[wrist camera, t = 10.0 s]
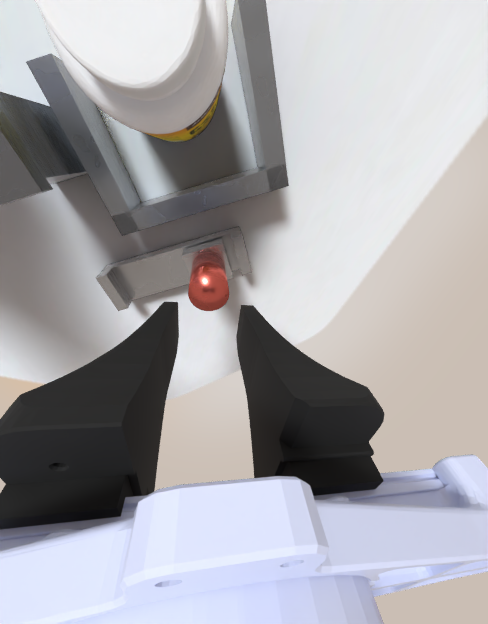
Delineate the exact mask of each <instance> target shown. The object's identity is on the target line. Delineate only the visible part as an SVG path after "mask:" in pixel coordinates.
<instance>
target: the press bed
mask: <svg viewBox="0 0 488 624" xmlns="http://www.w3.org/2000/svg"><path fill="white" fill-rule="evenodd" d="M231 26H232V32H233V37H234V43H235V48H236V53H237V59H238V64H239V70H240V75H241V80H242V86H243V91H244V97H245V102H246V108H247V113H248V118H249V124H250V129H251V135H252V140H253V145H254V151H255V156H256V162H257V168H254V169H250V170H247V171H244V172H240V173H237V174H234V175H231V176H227V177H224V178H221V179H217V180H214V181H211V182H208V183H204V184H201V185H198V186H194V187H191V188H188V189H184V190H181V191H178V192H175V193H171V194H168V195H165V196H161V197H158V198H155V199H151V200H148V201H145V202H142V203H141V201H140V198H139V196H138V194H137V192H136V190H135V188H134V186H133V183H132V181H131V179H130V177H129V175H128V173H127V170H126V168H125V166H124V164H123V162H122V160H121V158H120V155H119V153H118V151H117V149H116V147H115V145H114V143H113V140H112V138H111V136H110V134H109V132H108V130H107V128H106V125H105V123H104V121H103V119H102V117H101V115H100V112H99V110H98V108H97V106H96V104H95V103H94V102H93V101H92V100H91V99H90V98H89V97H88V96H87V95H86V94H85V93H84V91H83V90H82V89H81V88H80V87H79V85H78V84H77V83H76V82H75V80H74V79H73V77H72V76H71V75H70V73H69V72H68V70H67V68H66V67H65V65H64V63H63V62H62V60H60V59H59V58H57V57H56V56H54V55H53V54H48V55H45V56H42V57H39V58H36V59H33V60H30V61H27V62H26V63H27V64H28V66H29V68H30V70H31V72H32V74H33V75H34V77H35V79H36V81H37V83H38V84H39V86H40V88H41V90H42V92H43V93H44V95H45V97H46V99H47V101H48V103H49V104H50V106H51V107H50V106H46V105H43V104H40V103H36V102H33V101H30V100H26V99H23V98H19V97H16V96H13V95H9V94H6V93H3V92H0V205H4V204H7V203H10V202H13V201H17V200H20V199H23V198H26V197H30V196H33V195H36V194H39V193H42V192H46V191H49V190H52V189H53V188H52V187H51V185H50V184H54V183H58V182H61V181H64V180H68V179H71V178H74V177H77V176H80V175H84V174H87V173H88V175H89V177H90V179H91V180H92V182H93V184H94V186H95V188H96V190H97V191H98V193H99V195H100V197H101V199H102V200H103V202H104V204H105V206H106V208H107V209H108V211H109V213H110V215H111V217H112V219H113V220H114V222H115V224H116V226H117V228H118V229H119V231H120V233H121V235H122V236H123V235H126V234H129V233H133V232H136V231H139V230H143V229H146V228H149V227H153V226H156V225H159V224H163V223H166V222H169V221H173V220H176V219H179V218H183V217H186V216H189V215H193V214H196V213H199V212H203V211H206V210H209V209H213V208H216V207H219V206H223V205H226V204H229V203H233V202H236V201H239V200H243V199H246V198H249V197H253V196H256V195H260V194H263V193H266V192H270V191H273V190H276V189H280V188H283V187H286V186H288V178H287V170H286V162H285V153H284V145H283V137H282V129H281V121H280V113H279V105H278V97H277V89H276V81H275V73H274V65H273V57H272V49H271V41H270V32H269V24H268V16H267V8H266V0H235V4H234V10H233V15H232V21H231Z"/></svg>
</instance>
